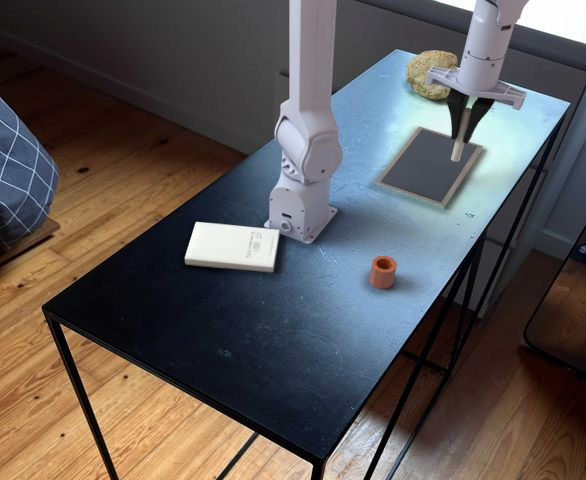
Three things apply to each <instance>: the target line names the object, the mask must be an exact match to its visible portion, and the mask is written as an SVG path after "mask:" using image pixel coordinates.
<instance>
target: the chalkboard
mask: <svg viewBox="0 0 586 480" xmlns="http://www.w3.org/2000/svg"><path fill="white" fill-rule="evenodd" d="M455 142H456V139H455V140H453V139H451V135H449V134H447V133H446V134H445V133H443V132H439V131H435V130H432V129H430V128H426V127H423V126H418V127H417V129H416V130H415V131H414V132H413V133H412V134H411V136H410V138H409V139H408V140H407V141H406V142H405V143H404V145H403V146H402V147H401V149H400V150H399V151H398V152H397V154H396V155H395V156H394V157H393V159H392V160H391V161H390V162H389V164H388V165H387V166H386V168H385V169H384V170H383V171H382V172H381V173H380V175H379V176H378V178H377V179H376V180H374V183H373V185H374V186H376V187H379V188H382V189H385V190H388V191H391V192H392V193H393V192H394V193H397V194H399V195H403V196H406V197H409V198H411V199H413V200H417V201H420V202H422V203H426V204H428V205H431V206H435V207H436V208H440V209H443V210H445V209H446V207H447V205H448V204H449V202H451V201H450V200H451V199H452V197H453V196H454V194H455V193H456V191H457V190H458V188H459V186H460V185H461V184H462V182H463V180H464V179H465V177H466V176H467V174H468V172H469V171H470V170H471V168H472V167H473V165H474V163H475V162H476V160H477V159H478V157H479V156H480V154H481V152H482V151H483V149H484V148H483V147H484V146H483V145H481V144H478V143H475V142H471V141H469V142H468V143H467V144H466V143H464V146H463V150H462V154H461V157H460V160H459V161H458V162H454V161H452V160H451V157H452V153H453V149H454V146H455Z"/></svg>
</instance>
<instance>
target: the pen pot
mask: <svg viewBox="0 0 586 480" xmlns="http://www.w3.org/2000/svg"><path fill="white" fill-rule="evenodd" d="M371 261H372V262H371V267H370V273H369V277H368V278H369V279H368V282H369V283H370V285H371V286H372V287H373V288H375V289H378V290H387V289H389V288H392V286H393V284H394V280H395V276H396V272H397V267H398V263H397V261H395V259H394V258H393V257H390V256H388V255H378V256H376V257H375V258H373V259H372V260H371Z"/></svg>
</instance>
